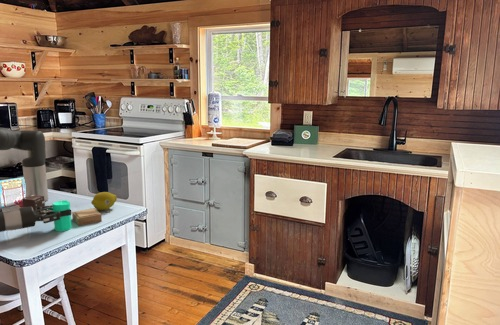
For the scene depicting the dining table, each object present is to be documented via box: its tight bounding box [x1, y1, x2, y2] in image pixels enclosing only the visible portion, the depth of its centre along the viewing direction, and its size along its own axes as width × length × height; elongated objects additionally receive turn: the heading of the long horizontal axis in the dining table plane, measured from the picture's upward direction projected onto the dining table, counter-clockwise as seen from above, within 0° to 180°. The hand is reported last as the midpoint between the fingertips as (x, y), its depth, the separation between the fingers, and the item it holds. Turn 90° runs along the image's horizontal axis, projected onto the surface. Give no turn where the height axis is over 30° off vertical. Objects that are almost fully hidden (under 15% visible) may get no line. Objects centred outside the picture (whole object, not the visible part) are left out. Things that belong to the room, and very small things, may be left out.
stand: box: [71, 207, 102, 227], centre depth 157 cm, size 9×9×3 cm
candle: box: [52, 200, 73, 232], centre depth 147 cm, size 6×6×12 cm
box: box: [21, 195, 46, 210], centre depth 162 cm, size 6×6×7 cm
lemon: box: [91, 191, 118, 211], centre depth 169 cm, size 11×8×8 cm
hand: (69, 210), depth 148 cm, fingers closed on candle, 4 cm apart
